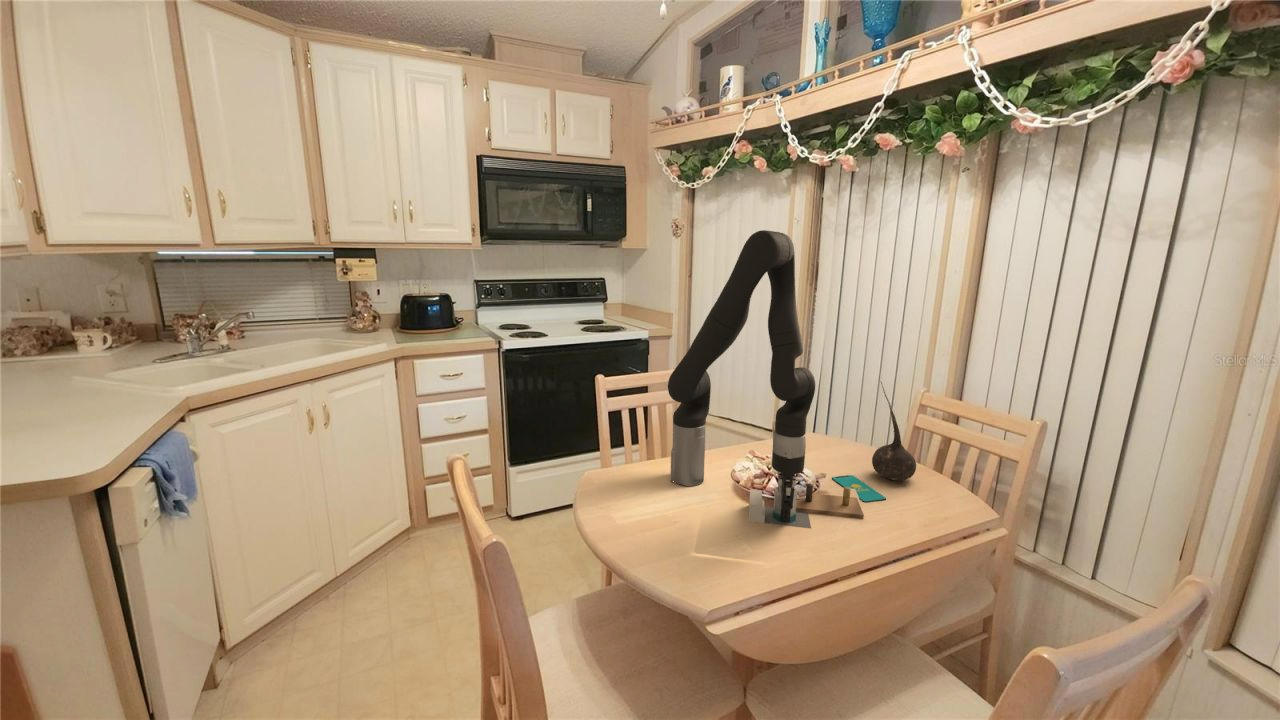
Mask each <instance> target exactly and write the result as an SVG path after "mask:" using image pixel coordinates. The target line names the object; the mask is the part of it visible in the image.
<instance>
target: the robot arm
mask: <svg viewBox="0 0 1280 720" xmlns="http://www.w3.org/2000/svg"><path fill="white" fill-rule="evenodd" d="M794 246H795V244H794V242H793V240H792V239H791V237H790V236H789V235H787V234H785V233H784V232H779V231H773V230H758V231H756V232H754V233H752V234H751V235H750V236H749V237H748V238H747V240H746V241H745V242H744V245H743V247H742V249H741V251H740V254H739V255H738V258H737V260H736V262H735V265H734V267H733V269H732V271H731V274H730V276H729V278H728V280H726V283H725V285H724V287H723V288H722V290H721V292H720V295H719V296H718V298H717V299H716V302H715V303H714V304H713V306H712V307H711V310H710V311H709V312H708V315H707V316H706V318H705V320H704V321H703V324H702V326H701V328H699V331H698V333H697V334H696V336H695V337H694V339H693V341H692V343H691V345H690V346H689V348H688V350H687V352H686V353H685V354H684V356H683V357H682V359H681V360H680V362H679V363H678V364H677V366H676V367H675V368H674V370H673V371H672V373H671V374H670V376H669V378H668V381H667V391H668V395H669V396H670V398H671V399H672V400H673V401H674V402H677V403H680V404H679V406H678V407H677V408H676V409H675V411H674V412H673V414H672V446H671V447H672V448H671V450H670V482H671V481H674V482H673V483H675V482H676V483H675V484H677V483H678V484H677V485H679V484H682V485H681V486H683V485H686V486H685V487H693V486H694V487H695V486H698V484H699V485H701V484H703V483H704V481H705V457H706V453H705V451H706V426H707V425H706V424H707V417H708V416H709V415H708V414H709V413H710V412H709V411H710V402H711V391H712V390H711V387H712V384H711V378H710V375H709V373H708V371H707V370H708V369H709V367H711V366H712V364H714V362H716V361H717V359H719V358H720V357H721V356H722V355H723V354H724V353H725V352H726V351H727V350H729V348H730V347H731V346H732V345H733V344H734V342H735V341H737V340H736V339H737V338H738V336H739V335H740V333H741V332H742V330H743V328H744V327H745V325H746V323H747V321H748V318H749V312H750V305H751V298H752V295H753V293H754V290H755V289H756V288H757V286H758V285H759V283H760V281H761V280H762V278H763V277H764V276H765V274H766V273H767V276H768V280H769V283H770V303H769V304H770V305H769V311H768V316H767V330H768V336H769V342H770V347H771V348H770V349H771V359H770V360H771V361H770V375H769V378H770V379H769V380H770V381H769V382H770V388H771V390H772V393H773V394H774V396H775V397H776V398H777V399H779V400H781V401H783V402H784V404H783V405H782V406H781V407H780V408H778V409H777V411H776V414H775V422H774V423H775V424H774V435H773V439H772V452H771V453H772V454H771V467H772V468H773V470H774V471H776V472H777V473H778V474H777V475H778V476H777V480H778V483H777V484H778V486H777V487H779V496H780V497H781V503H780V505H781V515H780V520H781V521H784V522H789V521H790V512H791V509H792V508H793V498H794V491H795V488H796V487H795V486H796V485H797V479H796V475H799V474H801V473H803V472H804V470H805V461H806V460H805V459H806V447H807V440H806V432H807V430H806V429H807V417H808V414H809V412H810V408H811V407H812V403H813V400H814V396H815V393H816V380H815V376H814V374H813V373H812V372H811V370H810V369H808V368H806V367H803V366H802V367H801V366H800V367H796V360H797V358H799V357H800V356H801V355H802V354H803V352H804V348H803V347H804V345H803V342H802V341H803V340H802V334H801V330H800V324H799V318H798V310H797V296H796V266H795V265H796V262H795V261H796V260H795V259H796V255H795V247H794ZM782 492H783V493H782ZM784 501H789V503H787V502H784Z"/></svg>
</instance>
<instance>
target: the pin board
mask: <svg viewBox="0 0 1280 720" xmlns="http://www.w3.org/2000/svg"><path fill="white" fill-rule="evenodd" d="M851 490H852V489H850V488H849V487H844V488H843V491H842V492H843V493H842V495H831V494H822V493H814V492H813V491H814V483H810V482H808V483H806V489H805V493H806V498H805V499H800V500H796V511H798V512H807V513H808V514H817V515H824V516H836V517H842V518H843V517H845V518H854V519H864V517H865V515H864V512H863V508H862V507H861V505H860V502H859V500H858V499H859V498H858V497H853V496H852V497H851ZM813 493H814V494H813Z"/></svg>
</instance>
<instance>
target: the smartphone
mask: <svg viewBox="0 0 1280 720" xmlns="http://www.w3.org/2000/svg"><path fill="white" fill-rule="evenodd" d="M831 480H832V481H834V482H835V483H836V484H837V485H838V486H840V487H842V488H843V489H844V487H849V488H850V489H851V490H855V492H856V495H857V498H858V499H859V500H860V501H861V502H862V503H867V504H868V503H873V502H883V501H886V500H887V497H885V496H884V495H882V494H881V493H879V492H878V491H877V490H876V489H874V488H872V487H871V486H869V485H868V484H866V483H865V482H863V481H862V480H861V479H860V478H857V476H855V475H852V474H849V475H848V474H847V475H839V476H832V477H831Z"/></svg>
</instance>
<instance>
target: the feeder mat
mask: <svg viewBox="0 0 1280 720" xmlns="http://www.w3.org/2000/svg"><path fill="white" fill-rule="evenodd" d="M748 500H749V501H748V522H753V523H760V524H771V525H778V526H787V527H796V528H802V529H803V528H805V529H812V525H811V522H810V514H809V513H807V512H798V511H796V520H795V521H793V522H791V523H786V522H779V521H778V520H776V519H774V518H773V508H774V507H769V506H765V500H764V499H763V490H761V489H752V488H751V489H749V499H748Z"/></svg>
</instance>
